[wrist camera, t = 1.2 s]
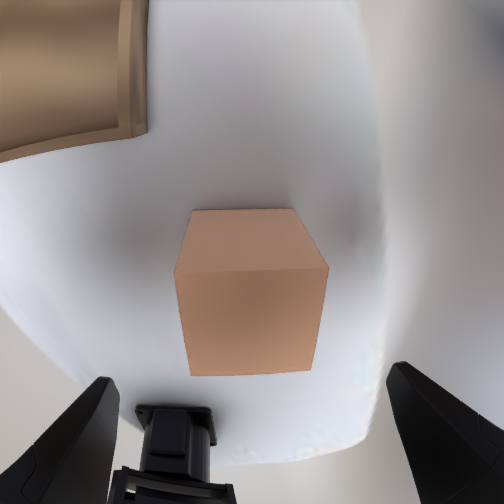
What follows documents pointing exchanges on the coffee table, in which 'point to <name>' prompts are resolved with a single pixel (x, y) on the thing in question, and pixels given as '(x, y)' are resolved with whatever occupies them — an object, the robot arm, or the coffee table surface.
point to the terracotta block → (249, 292)
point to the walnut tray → (70, 73)
